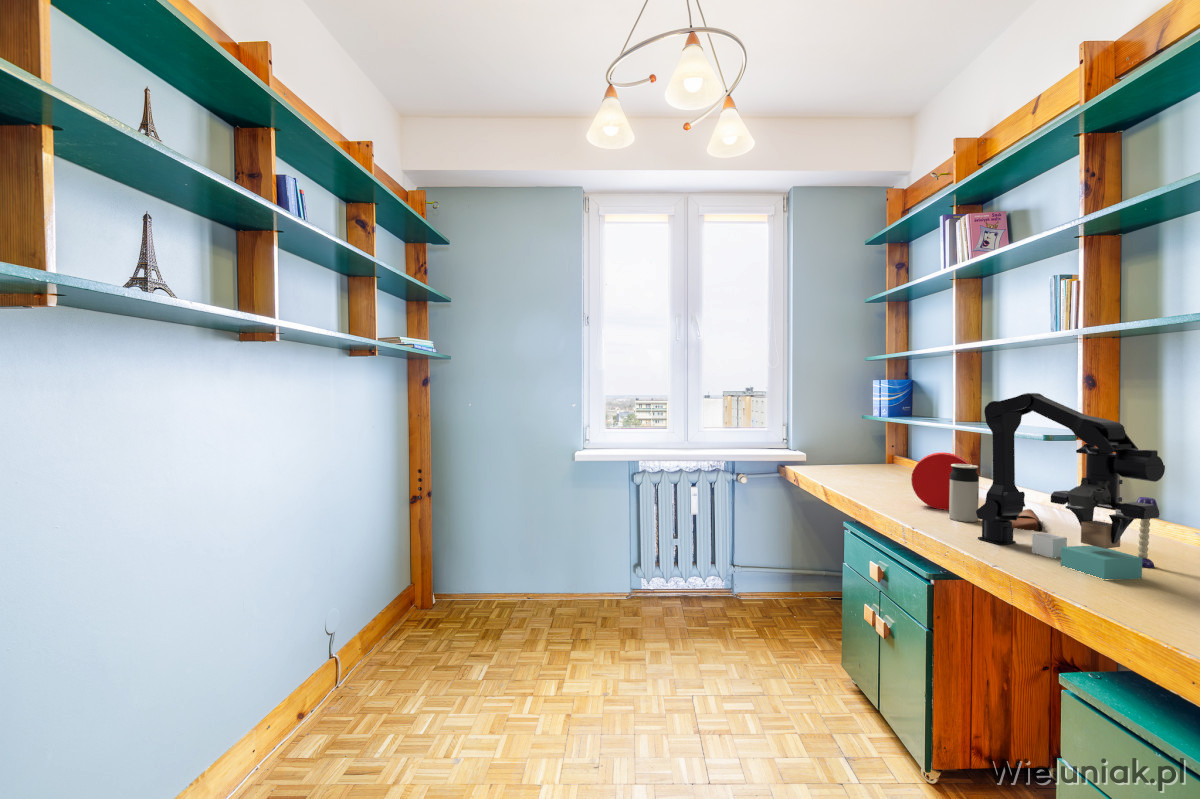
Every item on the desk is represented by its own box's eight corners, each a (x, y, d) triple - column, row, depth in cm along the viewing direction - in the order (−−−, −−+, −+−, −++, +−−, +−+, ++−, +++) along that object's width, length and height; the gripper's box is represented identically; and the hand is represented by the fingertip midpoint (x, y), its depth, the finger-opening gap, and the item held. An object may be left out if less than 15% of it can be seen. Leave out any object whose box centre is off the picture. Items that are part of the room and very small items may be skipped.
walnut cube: (1080, 542, 130) (1081, 521, 129) (1095, 541, 131) (1095, 520, 131) (1105, 548, 125) (1106, 527, 125) (1120, 546, 126) (1120, 525, 126)
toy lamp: (1145, 562, 135) (1147, 496, 135) (1163, 568, 130) (1165, 499, 130) (1125, 562, 135) (1126, 495, 135) (1142, 568, 131) (1144, 499, 130)
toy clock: (976, 510, 193) (977, 454, 192) (977, 513, 188) (978, 456, 188) (912, 503, 204) (912, 450, 204) (910, 506, 199) (911, 452, 199)
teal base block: (1060, 567, 132) (1061, 546, 132) (1096, 565, 134) (1096, 545, 134) (1104, 581, 122) (1104, 559, 122) (1141, 579, 124) (1142, 557, 124)
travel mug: (946, 519, 179) (947, 465, 179) (952, 515, 185) (953, 463, 184) (974, 523, 173) (975, 467, 173) (980, 519, 179) (981, 465, 178)
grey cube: (1031, 552, 143) (1032, 534, 143) (1045, 551, 144) (1046, 532, 144) (1052, 558, 138) (1053, 539, 138) (1066, 557, 140) (1066, 537, 140)
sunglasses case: (1003, 516, 184) (1016, 500, 182) (1025, 529, 180) (1039, 513, 178) (1008, 528, 168) (1022, 511, 166) (1032, 542, 165) (1047, 525, 163)
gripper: (1035, 470, 134) (1034, 532, 134) (1128, 482, 116) (1126, 555, 117) (1066, 468, 137) (1065, 529, 138) (1161, 480, 120) (1159, 550, 120)
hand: (1100, 540), depth 128 cm, fingers closed on walnut cube, 5 cm apart
